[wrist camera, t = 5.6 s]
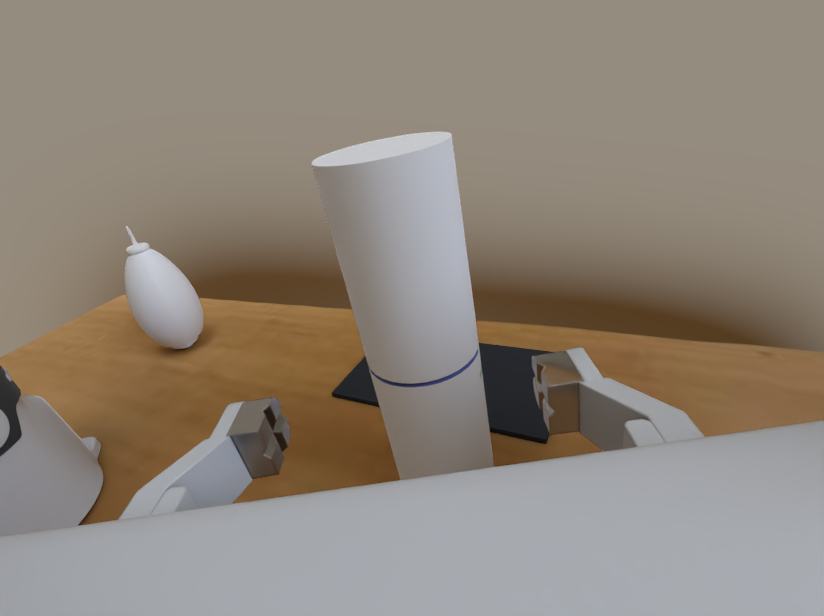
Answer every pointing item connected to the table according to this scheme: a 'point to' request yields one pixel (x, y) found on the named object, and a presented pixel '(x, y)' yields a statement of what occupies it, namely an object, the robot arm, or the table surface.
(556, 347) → the table surface
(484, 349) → the felt mat
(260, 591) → the robot arm
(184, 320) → the white bulb air blower
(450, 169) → the cylindrical container
